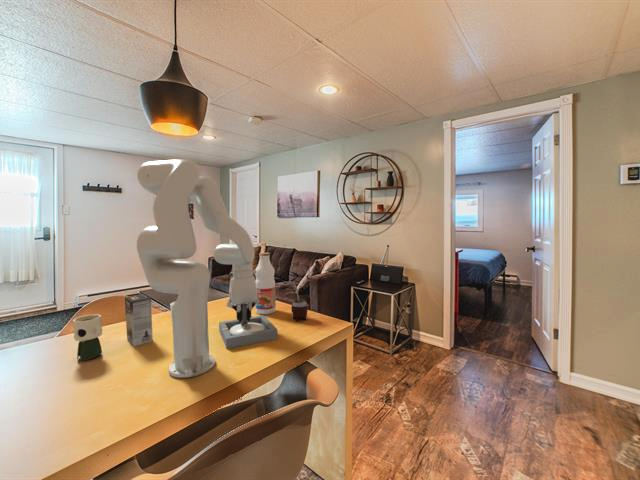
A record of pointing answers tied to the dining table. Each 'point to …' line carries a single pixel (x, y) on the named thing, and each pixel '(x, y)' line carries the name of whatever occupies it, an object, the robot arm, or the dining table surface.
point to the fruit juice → (265, 285)
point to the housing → (250, 337)
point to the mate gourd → (299, 308)
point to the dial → (245, 324)
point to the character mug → (88, 335)
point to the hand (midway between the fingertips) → (244, 320)
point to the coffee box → (138, 319)
